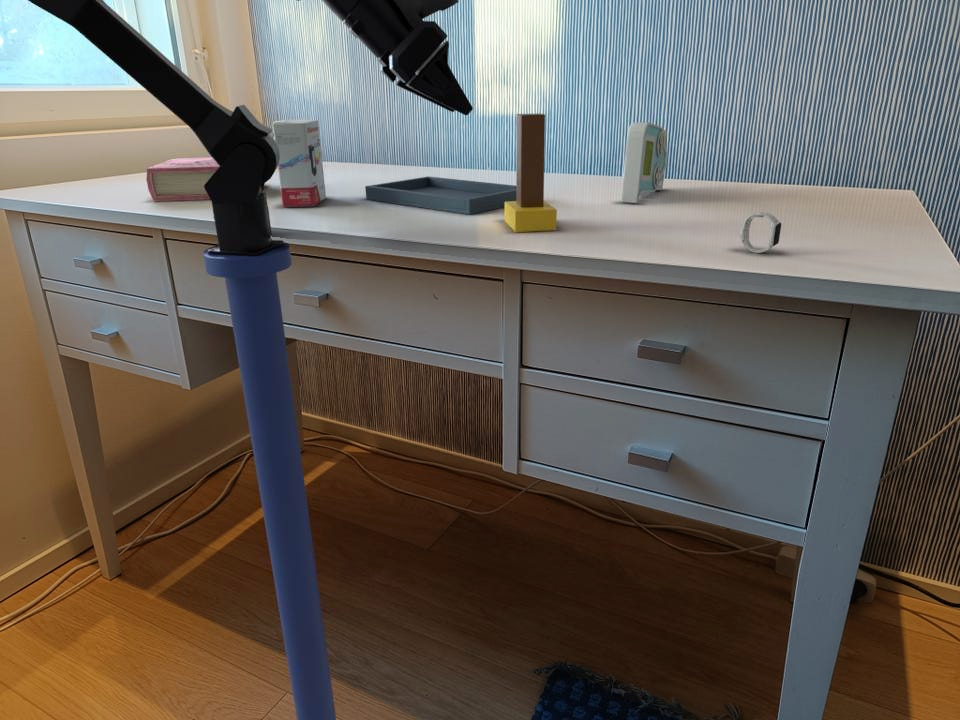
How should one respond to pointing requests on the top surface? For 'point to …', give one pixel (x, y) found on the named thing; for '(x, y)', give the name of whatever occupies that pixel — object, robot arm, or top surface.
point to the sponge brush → (530, 179)
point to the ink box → (299, 162)
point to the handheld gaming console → (644, 160)
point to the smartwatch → (773, 234)
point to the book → (180, 179)
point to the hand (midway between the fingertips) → (462, 110)
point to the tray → (444, 194)
